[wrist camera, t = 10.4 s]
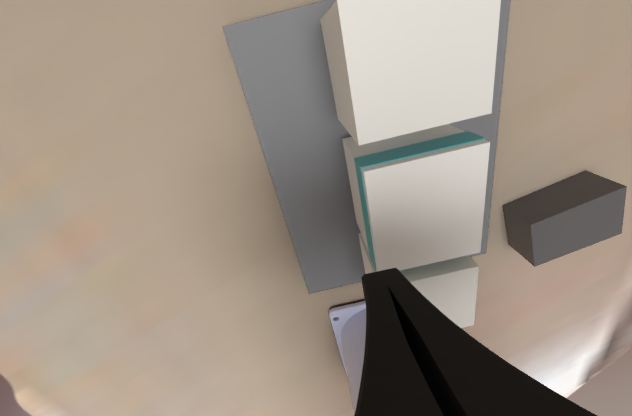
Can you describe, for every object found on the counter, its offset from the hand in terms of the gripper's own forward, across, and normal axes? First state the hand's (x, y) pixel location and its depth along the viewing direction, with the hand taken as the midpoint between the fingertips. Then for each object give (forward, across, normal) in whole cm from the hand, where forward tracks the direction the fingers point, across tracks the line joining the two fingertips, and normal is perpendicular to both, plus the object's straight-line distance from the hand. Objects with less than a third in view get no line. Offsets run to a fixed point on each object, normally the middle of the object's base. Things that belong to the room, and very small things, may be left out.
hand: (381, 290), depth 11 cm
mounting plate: (+9, -3, -1) cm, 10 cm away
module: (+7, -3, -1) cm, 8 cm away
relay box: (+10, -15, +5) cm, 19 cm away
